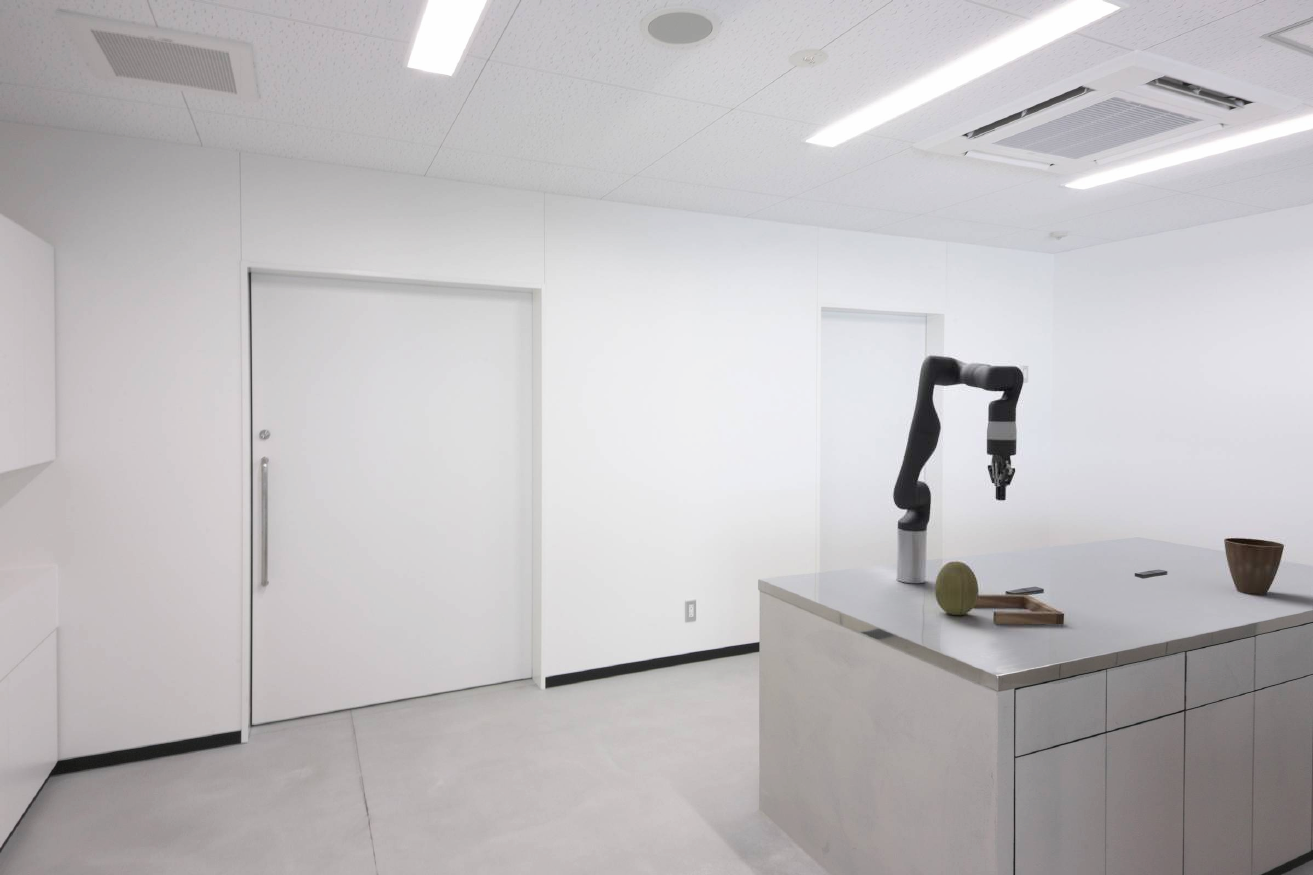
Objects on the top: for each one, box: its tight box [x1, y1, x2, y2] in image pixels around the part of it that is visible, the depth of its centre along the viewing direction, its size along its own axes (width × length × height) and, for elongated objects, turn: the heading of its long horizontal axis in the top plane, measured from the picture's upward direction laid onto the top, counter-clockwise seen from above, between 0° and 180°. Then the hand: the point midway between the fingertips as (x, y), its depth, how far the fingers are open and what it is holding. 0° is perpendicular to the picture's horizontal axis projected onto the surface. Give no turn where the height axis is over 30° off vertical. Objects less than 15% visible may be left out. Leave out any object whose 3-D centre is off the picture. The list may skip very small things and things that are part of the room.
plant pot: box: [1223, 537, 1285, 596], centre depth 240 cm, size 15×15×16 cm
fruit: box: [934, 560, 979, 616], centre depth 213 cm, size 11×11×15 cm
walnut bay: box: [973, 594, 1065, 626], centre depth 214 cm, size 20×18×3 cm
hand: (1000, 499), depth 212 cm, fingers closed
